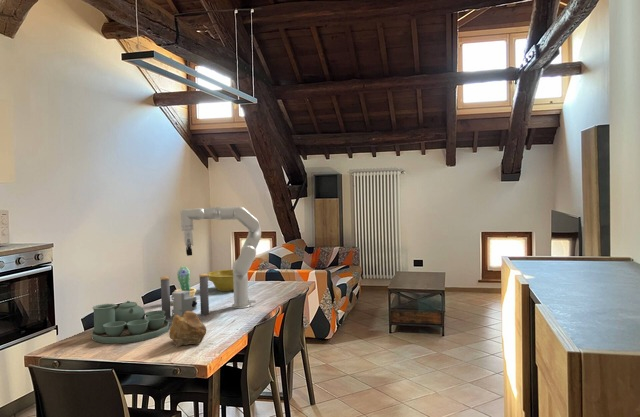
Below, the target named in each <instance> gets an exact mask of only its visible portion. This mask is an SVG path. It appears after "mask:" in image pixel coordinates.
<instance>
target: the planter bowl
mask: <svg viewBox="0 0 640 417" xmlns="http://www.w3.org/2000/svg"><path fill="white" fill-rule="evenodd" d="M206 274H208V281H210V282H212V283H213V285H214V287H215V288H216V289H217V290H218V291H219V292H220V291H221V292H231V291H234V281H233V269H222V270H221V269H220V270H215V271H211V272H207V273H206Z"/></svg>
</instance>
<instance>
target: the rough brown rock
mask: <svg viewBox="0 0 640 417" xmlns="http://www.w3.org/2000/svg"><path fill="white" fill-rule="evenodd" d="M206 335H207V327H206V325H204V324H203V323H202V321H201V319H200V318H199V316H198V315H197V313H196V312H194V311H186V312H184V314H183V316H182V317H180V316H178V315H175V316H174V317H172V321H171V325H170V327H169V338H170V339H171V340H172V341H173V344H174V345H175V346H176V347H180V346H183V345H184V346H187V345H189V344H192V345H197V346H198V345H199V344H201V343H202V341H203V339H204V337H205V336H206Z"/></svg>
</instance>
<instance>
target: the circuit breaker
mask: <svg viewBox="0 0 640 417" xmlns="http://www.w3.org/2000/svg"><path fill="white" fill-rule="evenodd" d="M171 301H172V307H173V309H172V310H171V315H172V318H174V316H175V315H178V316H180V317H182V316H183V314H184V312H186V311H192V312H194V311H195V310H197V305H198V302H197V297H196V296H194V297H190V292H189V291H176V292H174V291H173V292H172V293H171Z"/></svg>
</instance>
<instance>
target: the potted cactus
mask: <svg viewBox="0 0 640 417" xmlns="http://www.w3.org/2000/svg"><path fill="white" fill-rule="evenodd" d="M177 280H178V282H179V285H180V288H177V289H175V290H174V291H173V292H176V291H189V292H190V297H195V294H196V292H197V289H196V288H192V287H191V283H190V282H191V281H190V280H191V271H190V269H189V268H188V267H187V265H186V266H184V265H183V266H180V268H179V269H178V271H177Z"/></svg>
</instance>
